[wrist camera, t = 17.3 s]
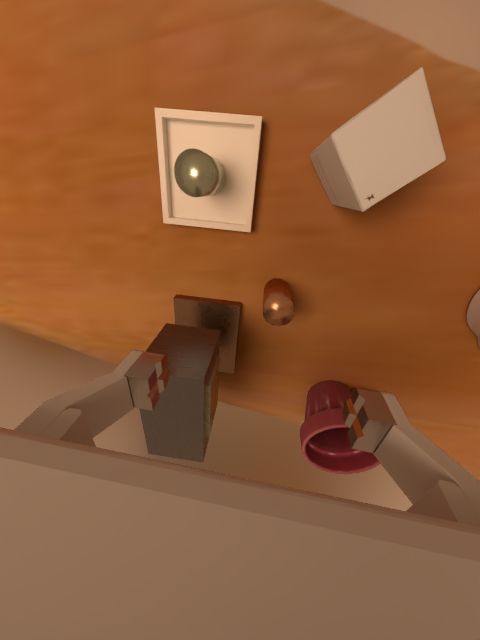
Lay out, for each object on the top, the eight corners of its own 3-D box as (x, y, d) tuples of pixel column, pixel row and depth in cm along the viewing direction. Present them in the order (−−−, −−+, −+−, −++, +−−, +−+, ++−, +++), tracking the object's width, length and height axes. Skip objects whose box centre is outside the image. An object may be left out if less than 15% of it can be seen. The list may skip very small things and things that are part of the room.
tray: (262, 120, 29) (261, 116, 27) (251, 229, 36) (250, 232, 34) (161, 112, 30) (154, 107, 28) (169, 221, 36) (163, 223, 34)
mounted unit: (241, 302, 42) (222, 382, 25) (234, 368, 50) (217, 464, 33) (176, 294, 43) (114, 367, 25) (180, 361, 51) (135, 451, 33)
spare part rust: (292, 280, 39) (297, 300, 32) (287, 304, 41) (291, 327, 34) (265, 277, 39) (265, 296, 32) (262, 301, 42) (261, 323, 35)
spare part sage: (227, 158, 31) (215, 150, 24) (225, 196, 33) (213, 199, 26) (193, 155, 31) (172, 146, 24) (194, 193, 33) (175, 195, 26)
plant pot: (282, 400, 53) (286, 456, 42) (321, 360, 47) (338, 414, 36) (333, 424, 56) (349, 483, 45) (377, 389, 49) (409, 448, 38)
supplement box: (384, 171, 30) (449, 162, 20) (330, 206, 33) (361, 215, 22) (364, 111, 28) (426, 61, 17) (307, 154, 30) (328, 135, 20)
